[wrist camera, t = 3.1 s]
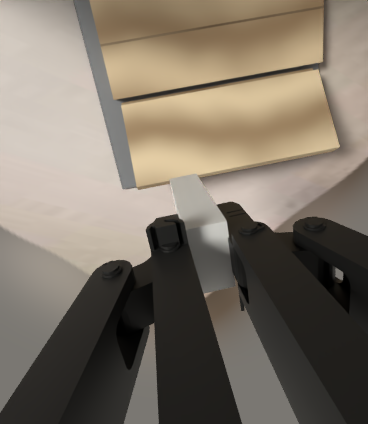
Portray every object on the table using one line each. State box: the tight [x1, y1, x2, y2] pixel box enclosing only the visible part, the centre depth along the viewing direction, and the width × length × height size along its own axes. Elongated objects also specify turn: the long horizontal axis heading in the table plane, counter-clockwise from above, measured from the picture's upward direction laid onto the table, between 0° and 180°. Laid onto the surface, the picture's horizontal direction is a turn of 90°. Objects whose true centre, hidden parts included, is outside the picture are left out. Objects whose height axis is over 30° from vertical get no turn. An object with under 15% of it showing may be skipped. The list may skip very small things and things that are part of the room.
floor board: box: [89, 0, 324, 100], centre depth 24 cm, size 8×18×1 cm, turn 100°
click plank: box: [121, 68, 340, 190], centre depth 25 cm, size 8×17×1 cm, turn 99°
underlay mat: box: [73, 0, 319, 189], centre depth 26 cm, size 17×20×1 cm
